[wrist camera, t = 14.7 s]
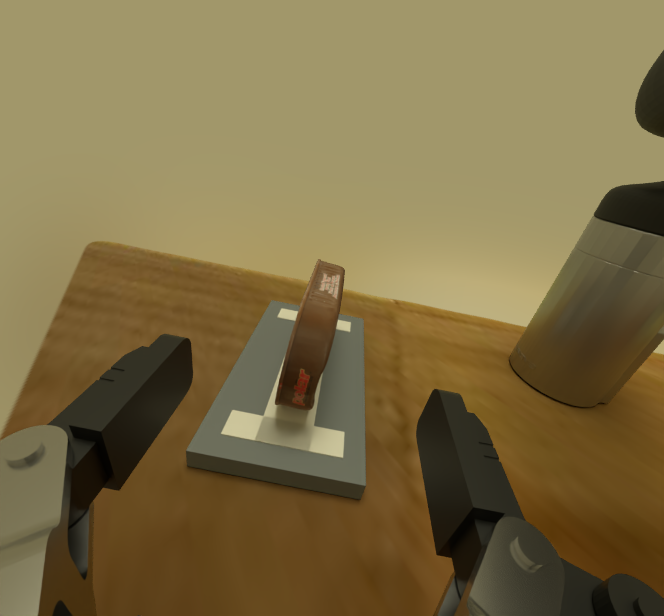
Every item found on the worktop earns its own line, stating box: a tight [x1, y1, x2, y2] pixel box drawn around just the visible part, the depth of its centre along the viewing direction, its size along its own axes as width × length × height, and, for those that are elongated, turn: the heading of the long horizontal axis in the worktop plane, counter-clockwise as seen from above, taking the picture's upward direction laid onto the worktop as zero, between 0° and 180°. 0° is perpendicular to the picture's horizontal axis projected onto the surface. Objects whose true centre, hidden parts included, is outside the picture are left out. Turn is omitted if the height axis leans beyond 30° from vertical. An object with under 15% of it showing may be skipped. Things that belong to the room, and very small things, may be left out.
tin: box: [275, 259, 345, 410], centre depth 25 cm, size 15×3×8 cm, turn 175°
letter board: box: [186, 300, 366, 500], centre depth 27 cm, size 11×20×2 cm, turn 175°
